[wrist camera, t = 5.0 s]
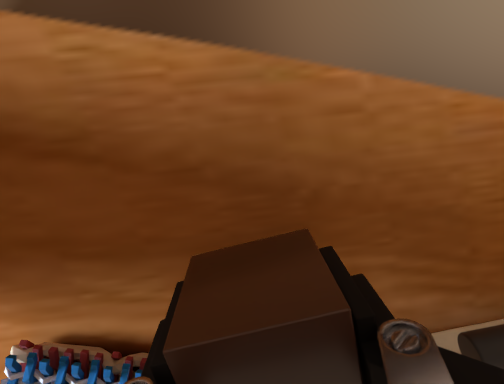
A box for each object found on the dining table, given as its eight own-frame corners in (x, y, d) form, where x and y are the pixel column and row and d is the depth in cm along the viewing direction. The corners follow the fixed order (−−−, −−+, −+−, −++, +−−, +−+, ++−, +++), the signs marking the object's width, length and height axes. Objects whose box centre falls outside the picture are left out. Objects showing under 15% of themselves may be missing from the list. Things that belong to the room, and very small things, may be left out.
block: (190, 255, 11) (161, 352, 7) (307, 227, 11) (351, 308, 7) (222, 347, 13) (214, 476, 8) (327, 323, 13) (373, 442, 8)
